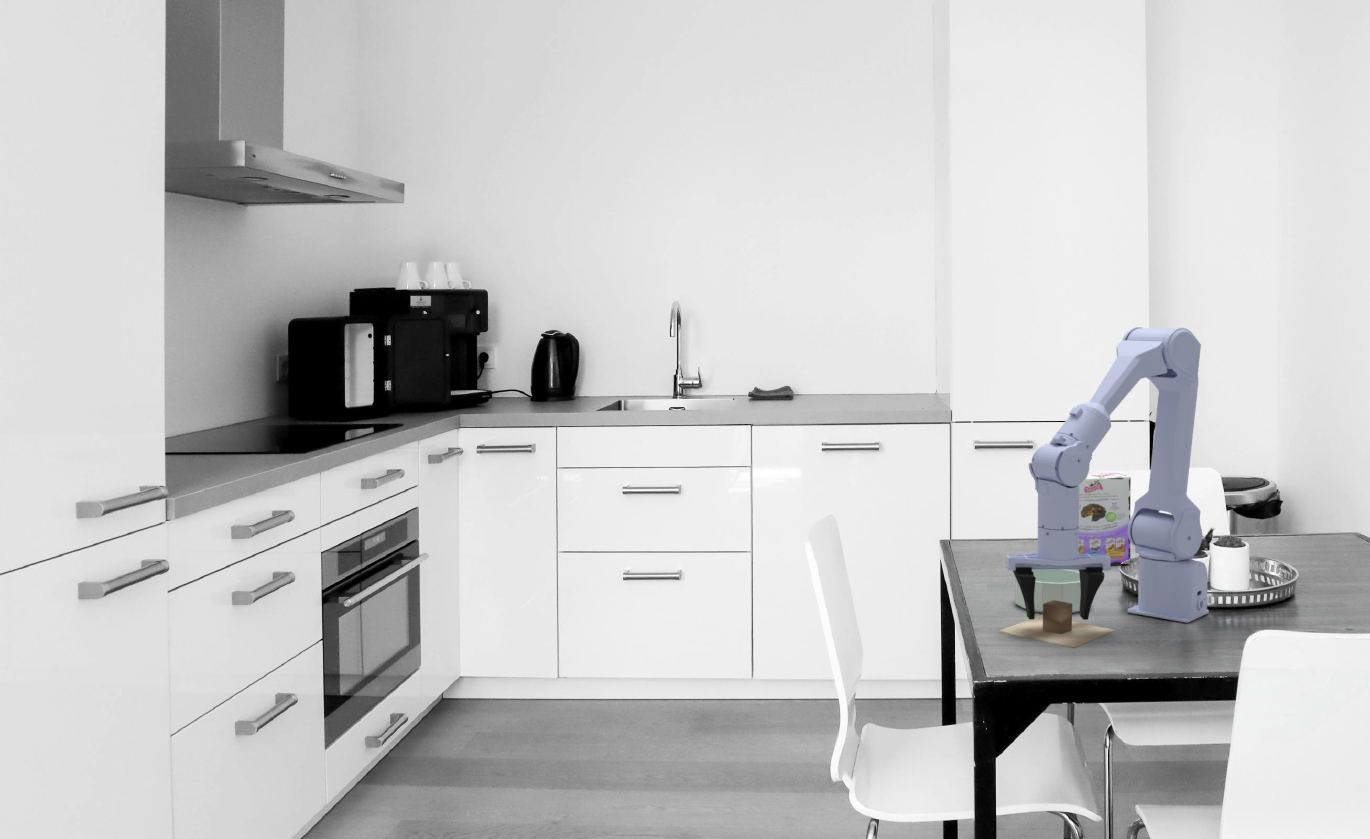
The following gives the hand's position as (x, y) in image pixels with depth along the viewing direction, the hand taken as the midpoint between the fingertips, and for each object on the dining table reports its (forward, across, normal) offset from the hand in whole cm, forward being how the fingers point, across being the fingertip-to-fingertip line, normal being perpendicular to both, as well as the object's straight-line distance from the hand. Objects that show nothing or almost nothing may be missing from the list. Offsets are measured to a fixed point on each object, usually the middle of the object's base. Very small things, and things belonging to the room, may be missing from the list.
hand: (1057, 617), depth 172 cm
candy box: (+2, -16, -46) cm, 48 cm away
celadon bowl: (+2, -2, -15) cm, 15 cm away
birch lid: (+3, 0, 0) cm, 3 cm away
